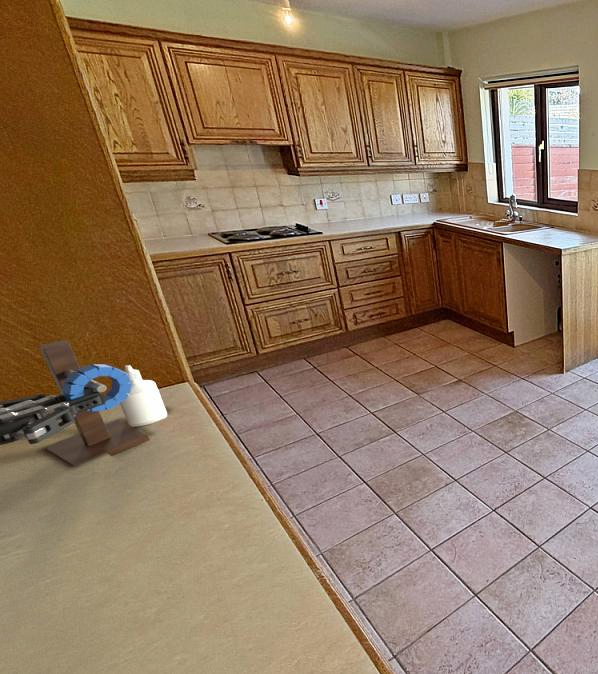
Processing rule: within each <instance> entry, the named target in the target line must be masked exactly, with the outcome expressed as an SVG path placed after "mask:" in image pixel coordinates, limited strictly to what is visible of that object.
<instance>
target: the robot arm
mask: <svg viewBox="0 0 598 674" xmlns="http://www.w3.org/2000/svg"><path fill="white" fill-rule="evenodd" d="M83 394H84V396H81V397H78V398H75V399H72V400H69V401H68V402H67V400H66V399H65V397H64V396H63V394H62V395H61V394H59V395H57V394H51V395H48V396H47V395H46V394H45V393H39V394H35V395H29V396H23V397H18V398H13V399H8V400H3V401H0V446H3V445H6V444H7V445H8V444H11V443H14V442H17V441H21V440H27V442H28V444H29V445H35V444H38V443H40V442H42V441H44V440H47V438H49V437H51V436H53V435H54V434H56V433H58V432H60V431H62V430H64V429H66V428H67V427H69V426H71V425H72V424H75V423H74V422H75V419H74V417H75V414H78V413H81V412H83V411H86V410H89V409H92V408H95V407H98V406H100V405H103V404H105V402H106V401H105V398H104V393H103V392H97V391H95V390H93V389H91V388H89V387H84V390H83Z"/></svg>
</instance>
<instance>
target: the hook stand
mask: <svg viewBox="0 0 598 674" xmlns="http://www.w3.org/2000/svg"><path fill="white" fill-rule="evenodd" d="M70 343H71V342H70V341H67V340H65V339H62V340H58V341H55V342H50V343H46V344H43V345H39V346H38V348H39V350H40V352H41V354H42V357H43V359H44V360H45V363H46V365H47V367H48V369H49V371H50V373H51V376H52V378H53V380H54V382H55V384H56V387H57V389H58V391H59V393H60V395H62V394H64V393H63V392H62V389H63V383H64V382H68V381H66V380H65V379H66V378H67V377H68V376H69V375H70V374H71V373H72V372H73V371H74V372H77V371H76V369H79V368H81V367H80V364H79V362H78V360H77V357H76V355H75V353H74V350H73V348H72V345H71V344H70ZM77 373H78V372H77ZM84 387H89V388H91V389H93V391H94V392H96V391H97V392H101V393H104V392H106V391H107V389H108V388H107V387H108V386H106V385H105V384H103V383H101V382H98V381H96V380H94V379H91V380H90V381H89V382H88V383H87V384H86V385H85V386H84ZM74 419H75V422H74V423H73V424H74V425H75V427H76V429H77V431H78V433H79V434H78V435H75V436H73V437H70V438H68V439H64V440H62V441H59V442H56V443H54V444H51V445H49V446H46V447H45V450H47V451H48V452H50V453H51V454H53V455H55V456H57V457H58V458H60V459H62V460H63V461H65V462H66V463H68V464H69V465H71V466H72V467H76V466H78V465H80V464H83V463H85V462H88V461H90V460H92V459H93V460H94V459H95V458H97V457H100V456H102V455H105V454H107V455H109V456H111V457H112V456H115V455H117V454H120V453H123V452H124V451H127V450H129V449H131V448H133V447H136V446H138V445H140V444H143V443H145V442H148V441H150V437H149V434H148V433H146V432H144V431H141V430H139V428H137V427H132V426H130V425H129V424H128V423H126V422H124V421H122V420H120V419H117V420H114V421H111V422H109V423H105V421H104V418H103V417H102V414H101V411H93V412H92V411H87V410H86V411H83V412H81V413H78V414H75V417H74Z"/></svg>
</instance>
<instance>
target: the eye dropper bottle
mask: <svg viewBox="0 0 598 674" xmlns="http://www.w3.org/2000/svg"><path fill="white" fill-rule="evenodd" d="M124 370H125V371H124V372H125V373H126V374H127V375H128V377H129V379H130V380H131V382H129V383H131V384H132V385H131V391H130V393H126V394H129V396H128V397H127V398H126V399H125V400H124V401H123V402H122V403H120V402H119V406H120V407H121V409H122V411H123V415H124V417H125V419H126V421H127V424H128V425H130V426H132V427H134V428H137V427H143V426H147V425H150V424H153V423H154V424H155V423H157V422H159V421H162V420H164V419H166V418H167V417H168V411H167V409H166V407H165V404H164V401H163V399H162V396H161V394H160V390H159V388H158V386H157V384H156V382H155V381H153V380H151V379H143V378H142V375H141V373H140V370H139V369H133V367H132V366H131V365H130V364H128V365H125V366H124Z"/></svg>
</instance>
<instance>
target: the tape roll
mask: <svg viewBox="0 0 598 674" xmlns="http://www.w3.org/2000/svg"><path fill="white" fill-rule="evenodd" d="M76 371H77V372H78V373H77V372H74V371H73V372H72V373H71V374H70V375H69V376H68V377H67V378H66V379H65V380H66V381H68V382H64V383H63V389H62V392H63V393H64V394H63V396H64V397H65V399H66V400H67V402H68V401H69V400H72V399H75V398H78V397H81V396H84V394H83V390H84V386H85V385H86V384H87V383H88V382H89V381H90V380H91V379H92V380H94V379H96V378H99V377H108V378H109V379H110V381H111V387H110V388H111V389H109V391H108V392H107V393H106V394H103V396H104V398H105V401H106V402H105V404H103V405H100V406H98V407H95V408H92V409H89V410H87V411H92V412H93V411H99V412H104V411H106V410H107V411H109V410H111V409H113V408H115V407H117V406H120V403H122V402H123V401H124V400H125V399H126V398H127V397H128V396H129V394H126V393H130V391H131V385H132V384H131V383H129V382H131V380H130V379H129V377H128V375H127V374H126V373H125V371H124V370H122V369H119V368H117V367H115V366H112V365H110V364H104V363H103V364H101V363H97V364H96V363H94V364H93V363H92V364H91V365H90V364H87V365H84V366H82V367H80V368H79V369H76Z"/></svg>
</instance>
